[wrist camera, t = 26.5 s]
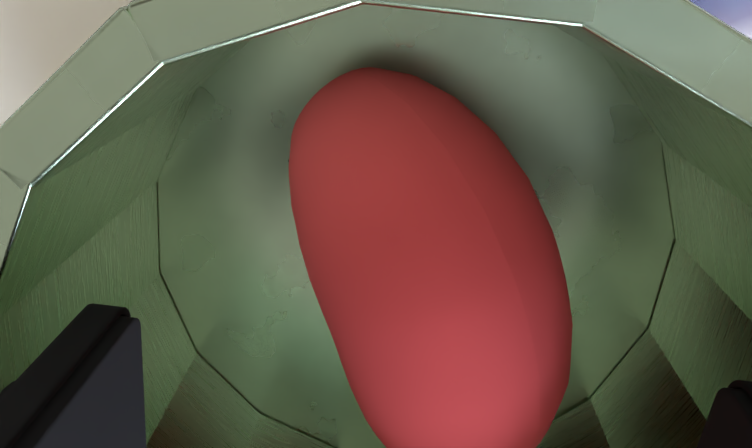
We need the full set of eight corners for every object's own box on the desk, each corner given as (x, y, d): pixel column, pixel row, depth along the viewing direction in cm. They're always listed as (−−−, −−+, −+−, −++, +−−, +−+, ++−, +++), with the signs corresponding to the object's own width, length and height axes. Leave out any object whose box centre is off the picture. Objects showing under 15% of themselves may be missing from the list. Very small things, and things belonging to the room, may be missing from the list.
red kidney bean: (607, 78, 15) (489, 10, 9) (614, 475, 15) (501, 623, 10) (410, 104, 18) (238, 63, 12) (418, 435, 18) (250, 531, 13)
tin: (121, -88, 14) (-165, -132, 7) (779, -16, 14) (1145, 11, 7) (144, 435, 19) (-4, 700, 12) (617, 490, 19) (732, 789, 12)
